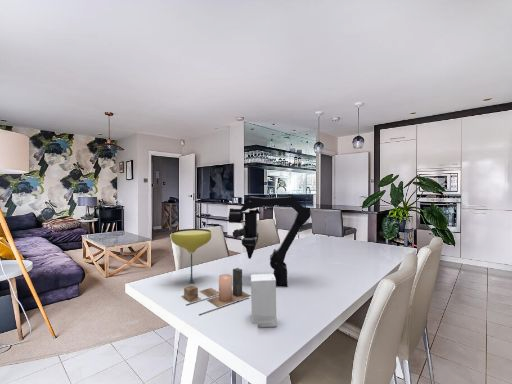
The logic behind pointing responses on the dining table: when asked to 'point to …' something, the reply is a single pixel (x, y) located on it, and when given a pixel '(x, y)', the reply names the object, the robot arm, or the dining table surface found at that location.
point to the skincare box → (263, 300)
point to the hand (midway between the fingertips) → (250, 256)
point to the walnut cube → (190, 292)
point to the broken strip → (206, 292)
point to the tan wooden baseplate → (237, 290)
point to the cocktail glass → (191, 241)
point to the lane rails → (216, 308)
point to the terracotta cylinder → (225, 288)
